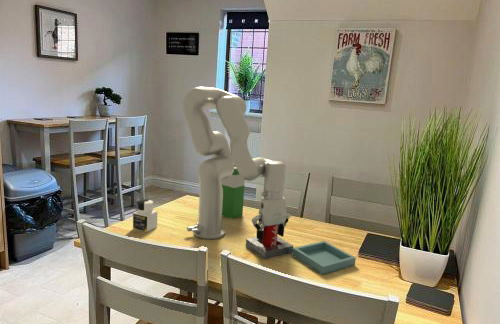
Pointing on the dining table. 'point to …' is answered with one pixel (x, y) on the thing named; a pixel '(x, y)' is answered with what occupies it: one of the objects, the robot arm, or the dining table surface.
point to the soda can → (270, 236)
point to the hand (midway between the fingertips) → (270, 237)
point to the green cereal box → (233, 195)
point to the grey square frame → (269, 248)
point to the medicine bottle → (145, 216)
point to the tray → (323, 257)
